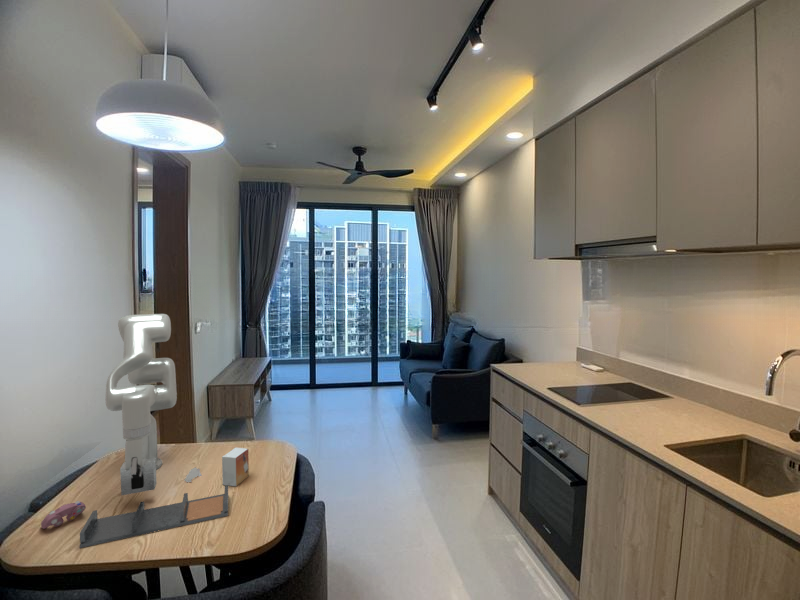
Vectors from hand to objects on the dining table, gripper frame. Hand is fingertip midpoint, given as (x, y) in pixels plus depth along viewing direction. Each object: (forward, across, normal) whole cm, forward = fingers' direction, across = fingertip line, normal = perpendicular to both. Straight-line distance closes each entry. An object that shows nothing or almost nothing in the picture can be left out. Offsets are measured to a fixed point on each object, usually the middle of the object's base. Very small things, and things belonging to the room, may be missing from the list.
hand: (139, 483), depth 127 cm
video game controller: (+7, +4, -19) cm, 20 cm away
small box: (+7, -3, +29) cm, 30 cm away
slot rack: (+6, +13, +8) cm, 17 cm away
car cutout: (+7, -7, +12) cm, 16 cm away
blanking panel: (+2, 0, 0) cm, 2 cm away
